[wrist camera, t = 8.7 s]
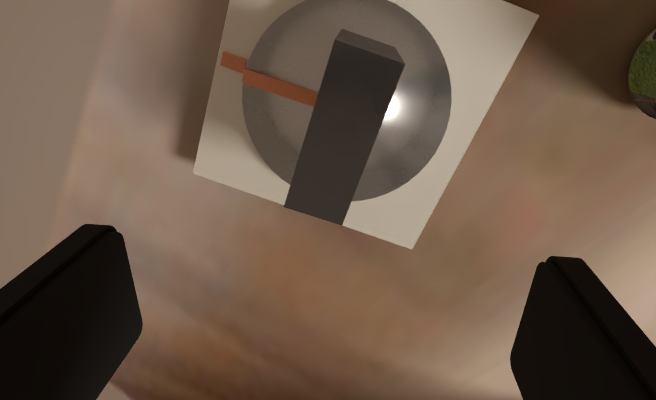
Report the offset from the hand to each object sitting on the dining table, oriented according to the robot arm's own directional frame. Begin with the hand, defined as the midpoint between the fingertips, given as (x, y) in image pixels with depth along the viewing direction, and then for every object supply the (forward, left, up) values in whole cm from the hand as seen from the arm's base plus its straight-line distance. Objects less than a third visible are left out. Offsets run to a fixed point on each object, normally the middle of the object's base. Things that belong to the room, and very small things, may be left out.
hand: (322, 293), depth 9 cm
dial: (0, 0, -17) cm, 17 cm away
